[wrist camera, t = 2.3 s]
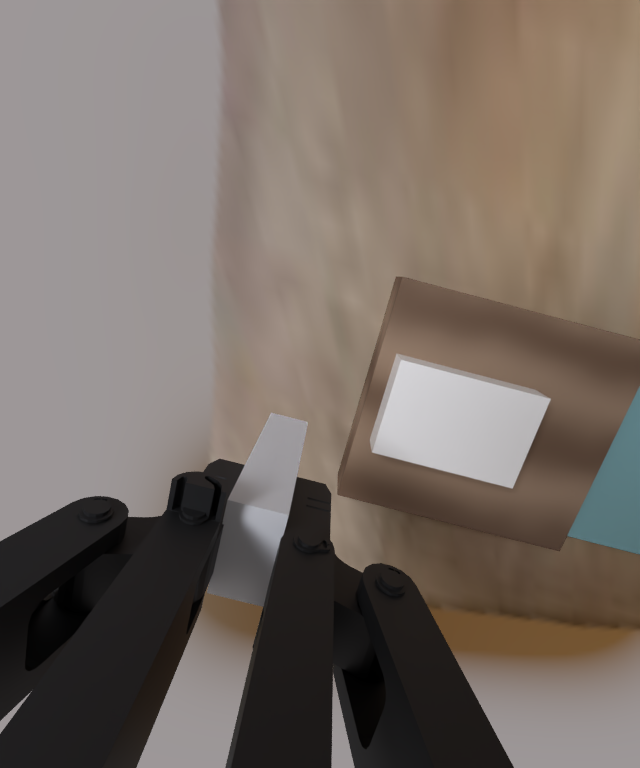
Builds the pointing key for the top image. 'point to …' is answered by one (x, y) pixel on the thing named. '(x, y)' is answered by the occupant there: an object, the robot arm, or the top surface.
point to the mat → (615, 492)
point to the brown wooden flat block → (509, 364)
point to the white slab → (457, 421)
